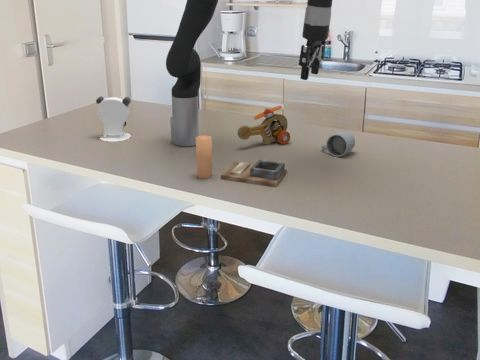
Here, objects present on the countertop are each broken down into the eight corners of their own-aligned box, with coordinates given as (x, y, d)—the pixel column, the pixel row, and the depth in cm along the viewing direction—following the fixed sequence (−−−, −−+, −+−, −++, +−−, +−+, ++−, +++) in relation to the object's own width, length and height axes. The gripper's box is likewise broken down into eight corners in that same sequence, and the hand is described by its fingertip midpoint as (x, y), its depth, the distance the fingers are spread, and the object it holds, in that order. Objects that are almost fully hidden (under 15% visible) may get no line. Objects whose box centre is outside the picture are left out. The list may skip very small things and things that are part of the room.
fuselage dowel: (194, 177, 145) (193, 138, 141) (200, 172, 149) (199, 134, 145) (208, 179, 144) (207, 140, 139) (214, 174, 148) (214, 136, 143)
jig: (220, 178, 144) (220, 167, 143) (234, 165, 155) (234, 154, 153) (275, 187, 139) (276, 175, 138) (286, 172, 149) (287, 161, 148)
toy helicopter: (292, 143, 177) (294, 106, 172) (245, 152, 166) (245, 113, 161) (278, 137, 183) (280, 101, 178) (232, 146, 173) (232, 108, 167)
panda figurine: (134, 133, 186) (132, 94, 181) (129, 142, 176) (126, 101, 170) (103, 133, 186) (99, 94, 180) (96, 142, 175) (91, 101, 170)
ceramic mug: (355, 152, 168) (357, 131, 165) (345, 158, 162) (347, 136, 159) (327, 147, 174) (329, 126, 171) (317, 153, 168) (318, 131, 165)
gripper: (313, 17, 149) (306, 69, 157) (295, 23, 138) (288, 79, 145) (337, 21, 146) (328, 74, 153) (320, 27, 135) (312, 84, 142)
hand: (309, 76), depth 149 cm, fingers open, 8 cm apart
